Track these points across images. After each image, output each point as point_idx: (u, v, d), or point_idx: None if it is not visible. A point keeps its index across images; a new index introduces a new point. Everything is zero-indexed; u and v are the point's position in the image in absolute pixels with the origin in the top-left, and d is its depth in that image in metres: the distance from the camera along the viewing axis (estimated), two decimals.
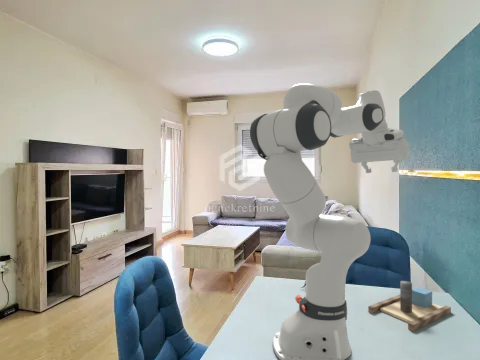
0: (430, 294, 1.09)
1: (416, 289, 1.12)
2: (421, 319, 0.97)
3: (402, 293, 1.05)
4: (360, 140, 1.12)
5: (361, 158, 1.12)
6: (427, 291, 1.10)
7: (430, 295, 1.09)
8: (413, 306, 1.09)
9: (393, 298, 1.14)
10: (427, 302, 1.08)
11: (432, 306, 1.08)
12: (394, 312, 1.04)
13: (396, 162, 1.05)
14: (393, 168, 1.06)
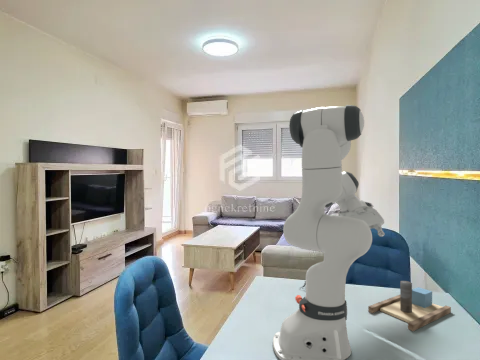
0: (430, 294, 1.09)
1: (416, 289, 1.12)
2: (421, 319, 0.97)
3: (402, 293, 1.05)
4: (346, 211, 1.20)
5: None
6: (427, 291, 1.10)
7: (430, 295, 1.09)
8: (413, 306, 1.09)
9: (393, 298, 1.14)
10: (427, 302, 1.08)
11: (432, 306, 1.08)
12: (394, 312, 1.04)
13: (380, 226, 1.20)
14: (381, 231, 1.18)
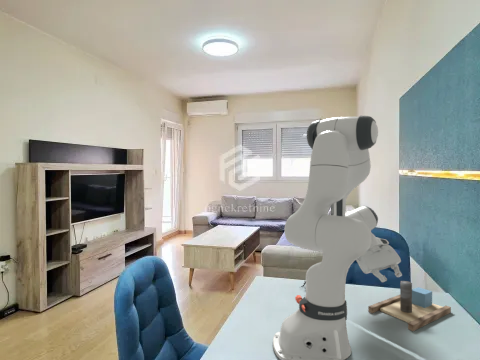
0: (430, 294, 1.09)
1: (416, 289, 1.12)
2: (421, 319, 0.97)
3: (402, 293, 1.05)
4: None
5: (375, 263, 1.10)
6: (427, 291, 1.10)
7: (430, 295, 1.09)
8: (413, 306, 1.09)
9: (393, 298, 1.14)
10: (427, 302, 1.08)
11: (432, 306, 1.08)
12: (394, 312, 1.04)
13: (397, 265, 1.14)
14: (399, 271, 1.12)
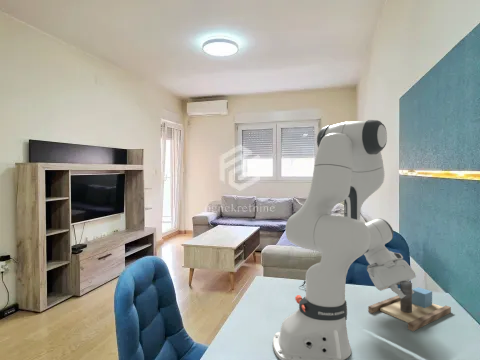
0: (430, 294, 1.09)
1: (416, 289, 1.12)
2: (421, 319, 0.97)
3: None
4: (375, 265, 1.10)
5: (389, 279, 1.05)
6: (427, 291, 1.10)
7: (430, 295, 1.09)
8: (413, 306, 1.09)
9: (393, 298, 1.14)
10: (427, 302, 1.08)
11: (432, 306, 1.08)
12: (394, 312, 1.04)
13: None
14: None
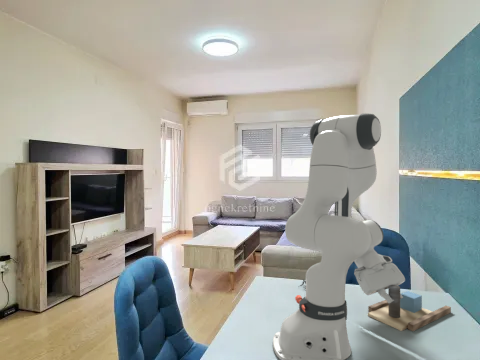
0: (419, 298, 1.05)
1: (405, 293, 1.08)
2: (421, 319, 0.97)
3: None
4: (363, 268, 1.06)
5: (377, 283, 1.01)
6: (416, 295, 1.06)
7: (420, 299, 1.05)
8: (402, 311, 1.05)
9: None
10: (416, 307, 1.04)
11: (421, 311, 1.05)
12: (382, 317, 1.01)
13: None
14: None
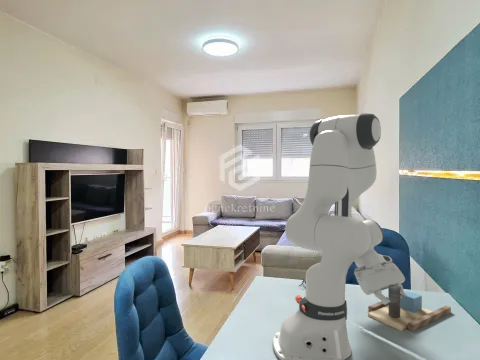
0: (419, 298, 1.05)
1: (405, 293, 1.08)
2: (421, 319, 0.97)
3: (390, 297, 1.01)
4: (363, 268, 1.06)
5: (377, 283, 1.01)
6: (416, 295, 1.06)
7: (420, 299, 1.05)
8: (402, 311, 1.05)
9: None
10: (416, 307, 1.04)
11: (421, 311, 1.05)
12: (382, 317, 1.01)
13: (401, 285, 1.06)
14: (403, 292, 1.04)
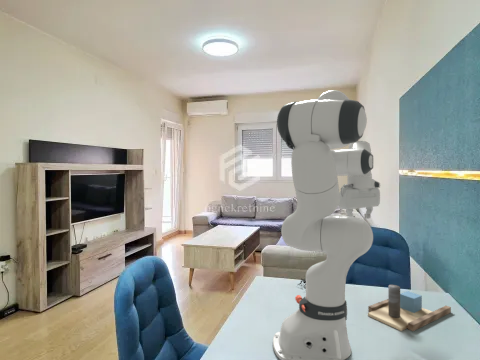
0: (419, 298, 1.05)
1: (405, 293, 1.08)
2: (421, 319, 0.97)
3: (390, 297, 1.01)
4: (351, 186, 1.11)
5: (354, 204, 1.10)
6: (416, 295, 1.06)
7: (420, 299, 1.05)
8: (402, 311, 1.05)
9: None
10: (416, 307, 1.04)
11: (421, 311, 1.05)
12: (382, 317, 1.01)
13: (372, 209, 1.17)
14: (369, 215, 1.16)
